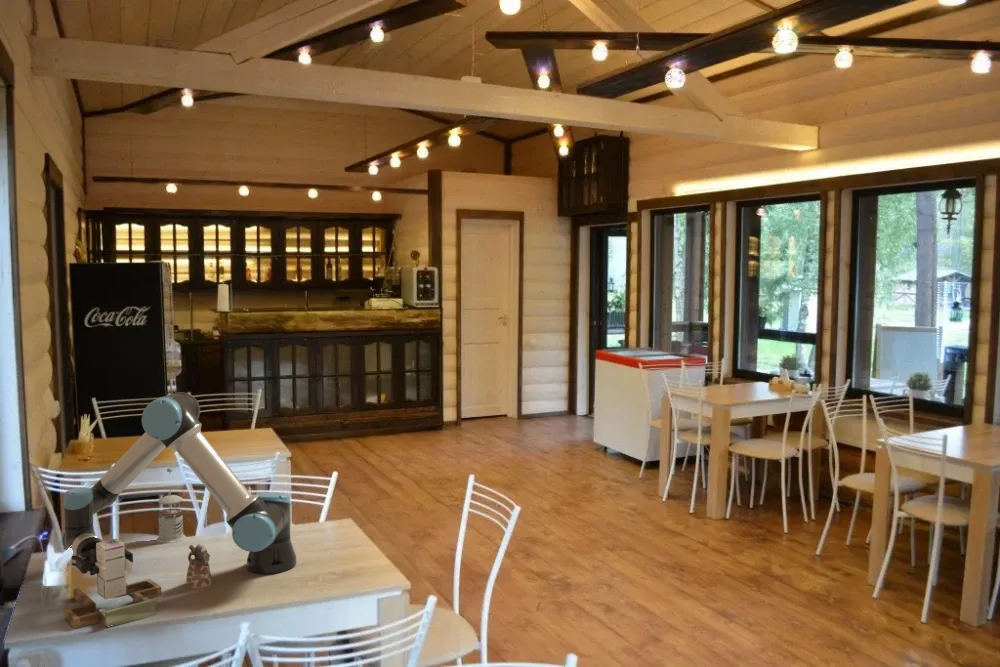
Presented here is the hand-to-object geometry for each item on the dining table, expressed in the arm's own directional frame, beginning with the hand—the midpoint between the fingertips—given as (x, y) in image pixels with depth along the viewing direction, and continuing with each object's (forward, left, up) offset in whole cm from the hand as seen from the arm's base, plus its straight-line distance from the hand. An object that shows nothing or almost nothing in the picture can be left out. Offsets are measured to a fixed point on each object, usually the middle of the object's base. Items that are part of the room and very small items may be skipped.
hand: (117, 570), depth 214 cm
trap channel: (+6, -4, -12) cm, 14 cm away
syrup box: (+5, -3, -8) cm, 10 cm away
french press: (+29, -58, -12) cm, 66 cm away
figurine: (-7, -24, -12) cm, 28 cm away
